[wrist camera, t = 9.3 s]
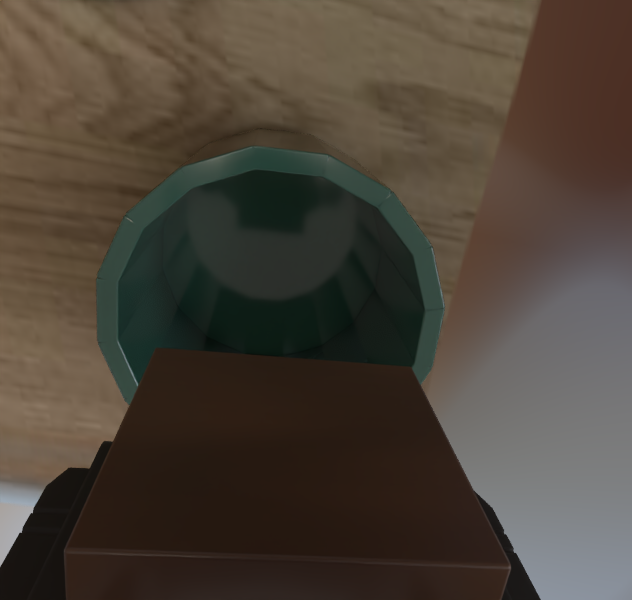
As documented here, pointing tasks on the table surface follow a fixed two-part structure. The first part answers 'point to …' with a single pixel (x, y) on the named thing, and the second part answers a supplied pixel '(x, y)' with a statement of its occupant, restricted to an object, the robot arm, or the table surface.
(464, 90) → the table surface
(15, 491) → the table surface
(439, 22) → the table surface
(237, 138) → the tin
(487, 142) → the table surface
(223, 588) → the block
